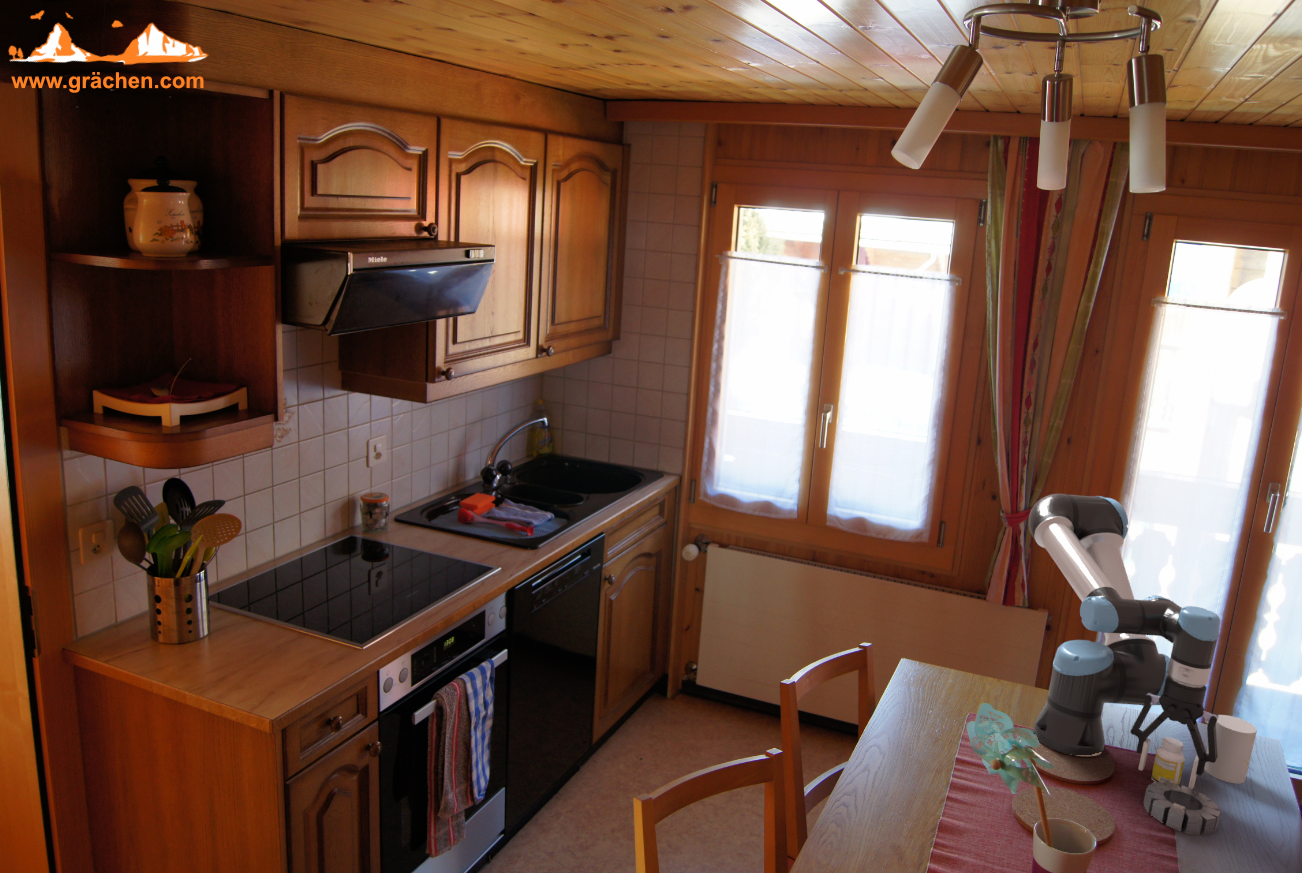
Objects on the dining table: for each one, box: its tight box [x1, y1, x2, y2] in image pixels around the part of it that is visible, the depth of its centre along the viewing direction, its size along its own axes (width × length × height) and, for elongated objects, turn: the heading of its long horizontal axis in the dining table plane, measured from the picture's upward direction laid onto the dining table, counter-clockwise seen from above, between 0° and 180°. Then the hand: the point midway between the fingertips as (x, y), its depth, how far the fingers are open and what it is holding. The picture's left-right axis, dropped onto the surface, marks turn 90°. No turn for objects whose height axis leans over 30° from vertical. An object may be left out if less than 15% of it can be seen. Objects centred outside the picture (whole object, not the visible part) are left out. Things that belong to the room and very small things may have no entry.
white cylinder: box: [1204, 714, 1258, 784], centre depth 208 cm, size 8×8×12 cm
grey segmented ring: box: [1143, 782, 1221, 836], centre depth 189 cm, size 13×13×4 cm
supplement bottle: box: [1150, 736, 1186, 787], centre depth 201 cm, size 5×5×10 cm
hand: (1166, 776), depth 202 cm, fingers open, 9 cm apart
